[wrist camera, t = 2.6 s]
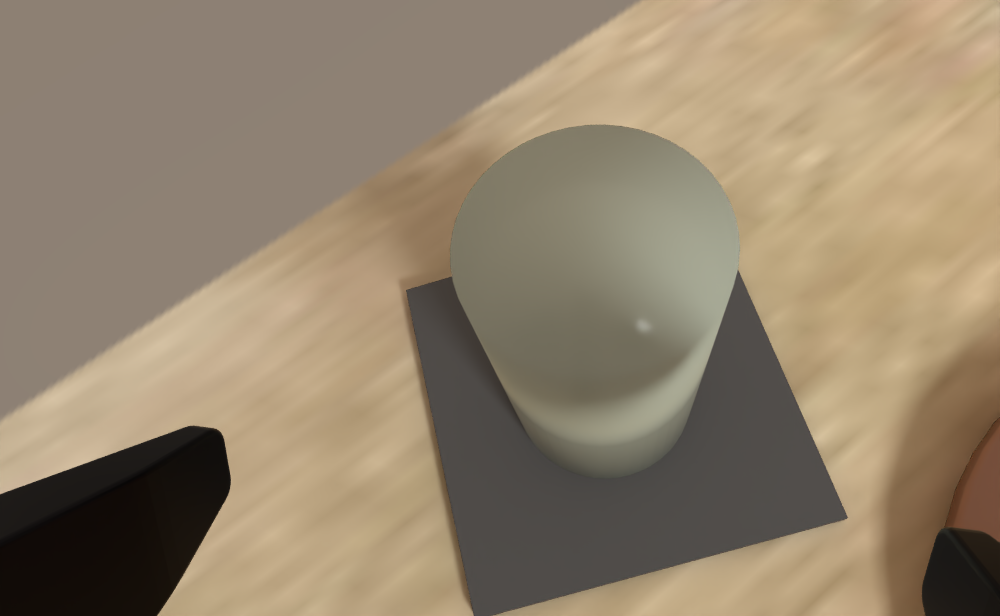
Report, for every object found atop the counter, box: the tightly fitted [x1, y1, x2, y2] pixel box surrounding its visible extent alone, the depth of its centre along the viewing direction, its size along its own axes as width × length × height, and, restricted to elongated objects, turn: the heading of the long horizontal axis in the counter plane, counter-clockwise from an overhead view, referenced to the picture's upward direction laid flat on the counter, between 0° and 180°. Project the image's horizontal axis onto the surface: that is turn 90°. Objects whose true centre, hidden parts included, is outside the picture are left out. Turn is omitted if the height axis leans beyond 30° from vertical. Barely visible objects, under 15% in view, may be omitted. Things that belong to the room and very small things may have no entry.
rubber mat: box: [406, 271, 848, 616], centre depth 21 cm, size 10×10×1 cm
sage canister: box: [450, 125, 740, 479], centre depth 16 cm, size 5×5×9 cm
